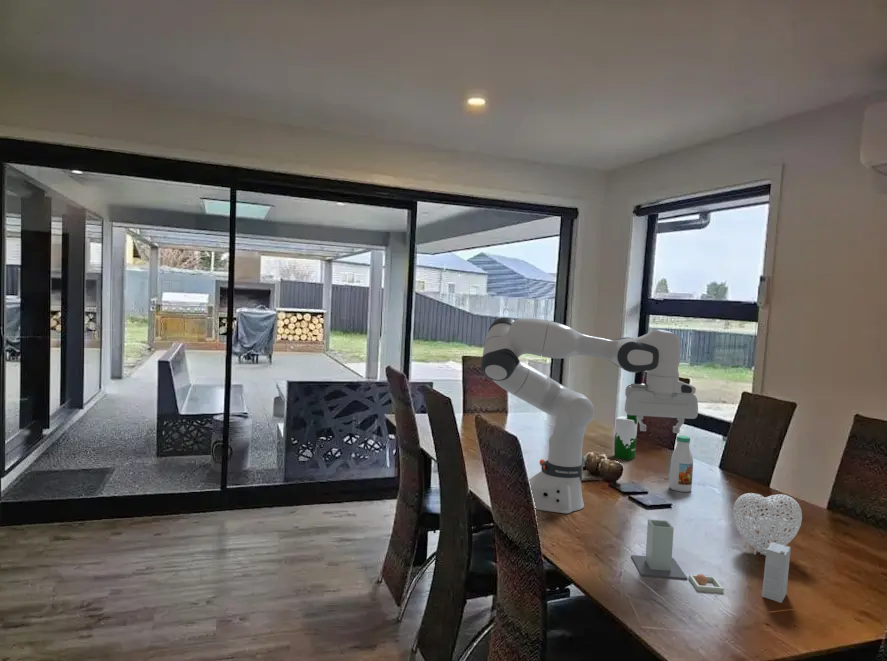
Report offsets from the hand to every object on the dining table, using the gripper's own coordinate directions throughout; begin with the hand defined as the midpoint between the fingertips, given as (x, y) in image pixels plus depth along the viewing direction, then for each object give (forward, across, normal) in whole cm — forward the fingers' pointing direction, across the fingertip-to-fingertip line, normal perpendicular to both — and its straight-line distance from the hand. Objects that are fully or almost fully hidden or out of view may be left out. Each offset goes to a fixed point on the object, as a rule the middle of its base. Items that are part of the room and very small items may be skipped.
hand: (659, 431), depth 167 cm
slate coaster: (+31, -5, -23) cm, 39 cm away
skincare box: (+31, +19, -33) cm, 49 cm away
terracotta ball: (+30, +4, -30) cm, 43 cm away
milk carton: (+31, +12, +91) cm, 97 cm away
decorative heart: (+31, +28, -8) cm, 43 cm away
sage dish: (+32, +4, -31) cm, 44 cm away
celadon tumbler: (+30, -5, -23) cm, 38 cm away
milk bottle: (+31, +23, +48) cm, 62 cm away
